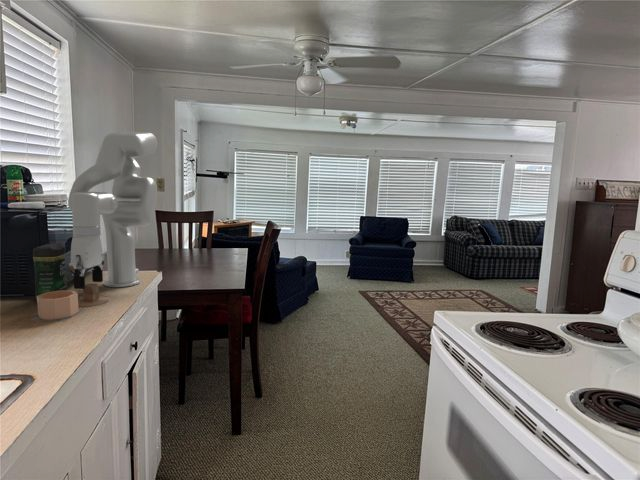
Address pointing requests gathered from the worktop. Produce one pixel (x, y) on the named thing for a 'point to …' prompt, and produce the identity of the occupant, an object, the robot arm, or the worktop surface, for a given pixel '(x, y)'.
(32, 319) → the mat
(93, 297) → the lid
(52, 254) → the coffee jar
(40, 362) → the worktop surface
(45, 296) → the bowl
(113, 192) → the robot arm
